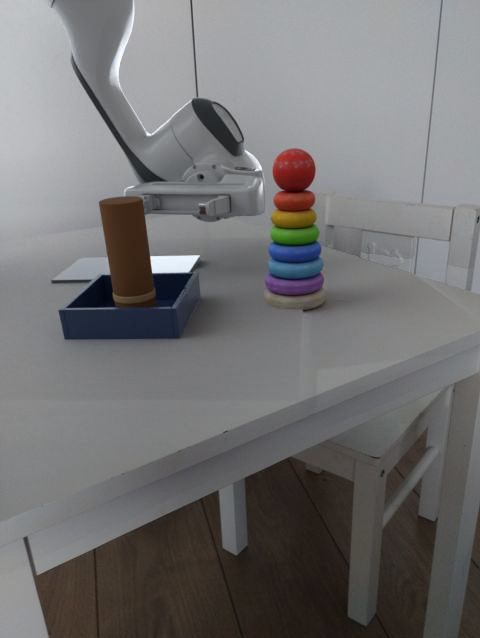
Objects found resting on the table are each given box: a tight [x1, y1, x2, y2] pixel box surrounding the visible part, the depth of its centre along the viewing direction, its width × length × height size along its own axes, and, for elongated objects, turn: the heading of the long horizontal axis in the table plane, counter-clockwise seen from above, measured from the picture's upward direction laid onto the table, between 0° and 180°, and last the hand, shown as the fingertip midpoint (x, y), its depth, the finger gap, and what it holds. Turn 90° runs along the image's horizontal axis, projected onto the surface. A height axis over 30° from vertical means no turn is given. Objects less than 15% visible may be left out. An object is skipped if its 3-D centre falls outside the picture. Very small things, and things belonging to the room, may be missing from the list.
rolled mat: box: [98, 195, 157, 308], centre depth 66 cm, size 5×5×14 cm
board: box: [50, 254, 202, 284], centre depth 88 cm, size 20×12×1 cm, turn 85°
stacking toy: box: [263, 147, 327, 311], centre depth 69 cm, size 8×8×19 cm
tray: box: [58, 271, 202, 341], centre depth 69 cm, size 13×13×4 cm
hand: (171, 209), depth 75 cm, fingers open, 8 cm apart
